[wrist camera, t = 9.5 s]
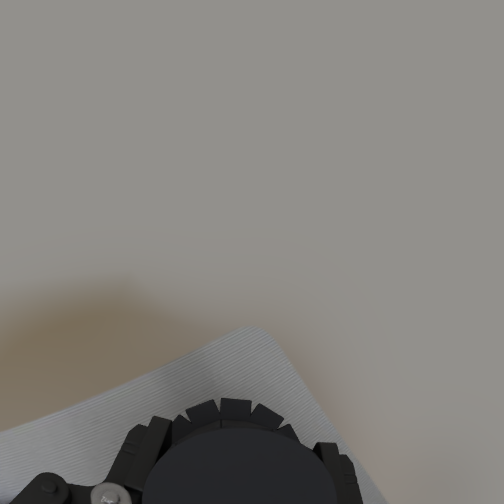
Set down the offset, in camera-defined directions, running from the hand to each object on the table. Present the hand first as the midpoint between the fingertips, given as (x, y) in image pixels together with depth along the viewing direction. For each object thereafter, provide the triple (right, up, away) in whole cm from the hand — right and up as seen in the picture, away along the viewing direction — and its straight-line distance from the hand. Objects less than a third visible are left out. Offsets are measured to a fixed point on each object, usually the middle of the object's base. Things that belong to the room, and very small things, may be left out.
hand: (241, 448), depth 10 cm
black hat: (-1, -4, +4) cm, 6 cm away
